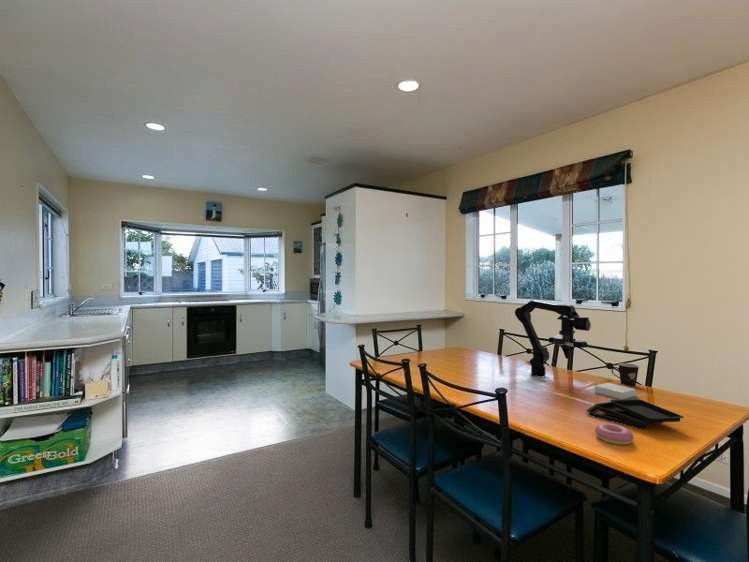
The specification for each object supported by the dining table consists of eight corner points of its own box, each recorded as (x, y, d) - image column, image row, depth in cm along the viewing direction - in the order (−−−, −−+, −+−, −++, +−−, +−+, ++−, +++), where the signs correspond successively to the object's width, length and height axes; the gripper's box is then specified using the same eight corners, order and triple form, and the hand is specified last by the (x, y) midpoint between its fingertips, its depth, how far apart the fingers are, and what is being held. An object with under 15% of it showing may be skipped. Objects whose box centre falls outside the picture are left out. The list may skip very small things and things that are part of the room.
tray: (583, 418, 145) (583, 405, 145) (593, 403, 163) (593, 391, 163) (684, 440, 126) (684, 425, 126) (683, 420, 144) (683, 406, 144)
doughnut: (593, 441, 125) (593, 428, 125) (596, 430, 134) (596, 418, 134) (633, 450, 119) (633, 437, 119) (633, 438, 128) (633, 426, 128)
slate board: (582, 392, 177) (582, 390, 177) (602, 388, 185) (602, 386, 185) (623, 404, 162) (623, 401, 162) (643, 398, 169) (643, 396, 169)
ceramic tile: (594, 385, 175) (622, 392, 164) (608, 382, 180) (635, 389, 170) (594, 392, 175) (622, 399, 164) (608, 388, 180) (635, 396, 170)
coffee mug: (637, 384, 193) (638, 364, 193) (639, 388, 185) (639, 367, 185) (611, 380, 199) (611, 361, 199) (611, 384, 192) (611, 364, 191)
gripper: (541, 327, 201) (541, 356, 201) (574, 332, 184) (574, 363, 184) (555, 326, 206) (554, 354, 206) (588, 330, 190) (588, 361, 190)
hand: (567, 358), depth 196 cm, fingers closed
